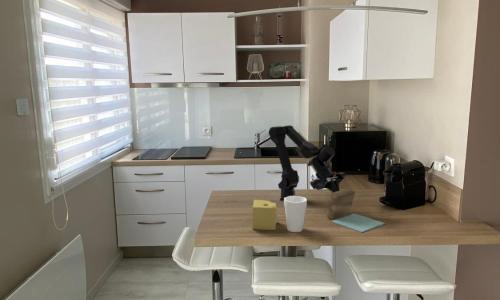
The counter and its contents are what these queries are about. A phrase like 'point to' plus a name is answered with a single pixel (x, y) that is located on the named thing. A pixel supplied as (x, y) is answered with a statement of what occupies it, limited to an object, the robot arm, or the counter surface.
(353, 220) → the mat
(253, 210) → the cheese
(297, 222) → the foam cup
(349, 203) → the walnut block
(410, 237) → the counter surface
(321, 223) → the counter surface
